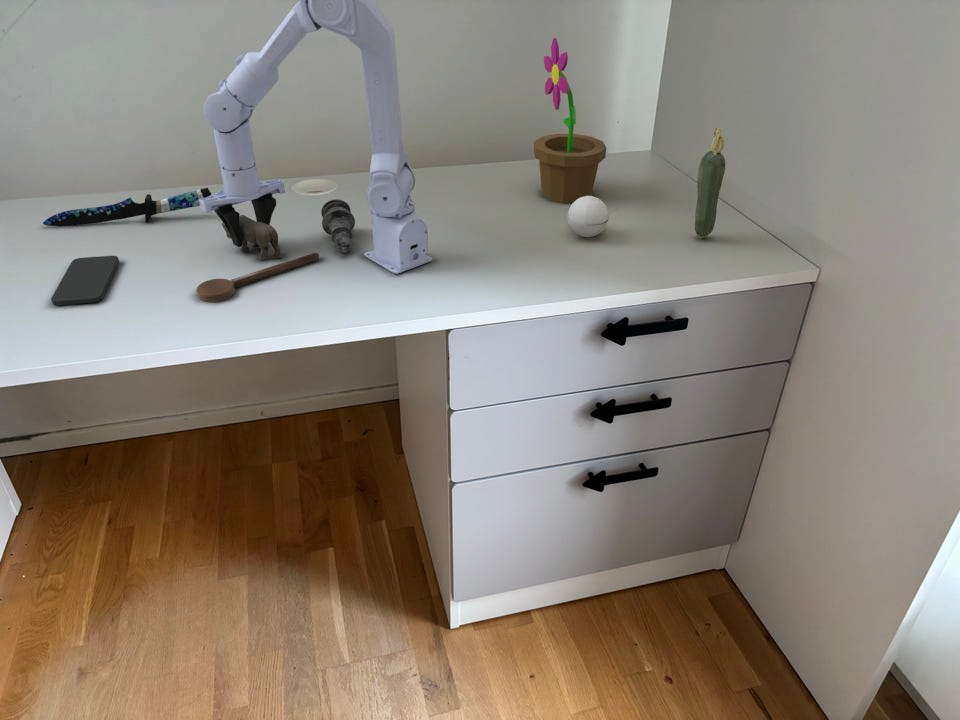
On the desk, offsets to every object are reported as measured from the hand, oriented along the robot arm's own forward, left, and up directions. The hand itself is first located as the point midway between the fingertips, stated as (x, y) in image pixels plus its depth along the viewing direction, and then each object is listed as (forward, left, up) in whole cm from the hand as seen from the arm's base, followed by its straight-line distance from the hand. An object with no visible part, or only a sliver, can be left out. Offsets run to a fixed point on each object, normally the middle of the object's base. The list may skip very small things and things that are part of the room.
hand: (251, 240), depth 133 cm
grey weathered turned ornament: (-3, -16, +2) cm, 16 cm away
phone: (+6, +26, -2) cm, 27 cm away
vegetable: (-49, -63, -2) cm, 80 cm away
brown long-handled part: (-11, +5, -2) cm, 12 cm away
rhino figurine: (0, 0, -2) cm, 2 cm away
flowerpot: (-18, -61, -2) cm, 64 cm away
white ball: (-35, -50, -2) cm, 61 cm away
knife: (+26, +11, -2) cm, 28 cm away
